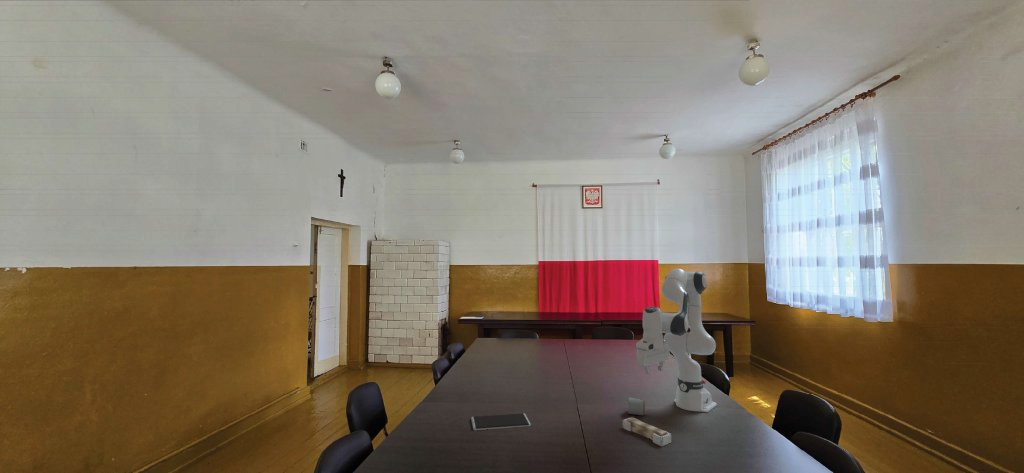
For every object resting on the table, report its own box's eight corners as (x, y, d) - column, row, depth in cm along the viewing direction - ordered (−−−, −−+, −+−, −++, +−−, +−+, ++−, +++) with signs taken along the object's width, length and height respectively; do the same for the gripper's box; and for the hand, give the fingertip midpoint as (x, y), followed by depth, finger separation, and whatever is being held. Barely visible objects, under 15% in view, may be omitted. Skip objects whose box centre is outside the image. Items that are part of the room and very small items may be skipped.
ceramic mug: (645, 417, 189) (645, 401, 190) (628, 415, 191) (627, 400, 192) (644, 410, 199) (644, 395, 200) (628, 408, 201) (627, 393, 202)
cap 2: (652, 442, 164) (652, 433, 164) (662, 438, 167) (662, 430, 167) (661, 446, 160) (661, 437, 160) (671, 442, 163) (671, 434, 164)
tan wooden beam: (626, 429, 177) (626, 419, 177) (631, 427, 179) (631, 417, 179) (662, 444, 162) (661, 433, 162) (666, 442, 164) (666, 431, 164)
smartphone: (531, 427, 179) (531, 423, 179) (473, 431, 174) (473, 427, 174) (524, 416, 192) (524, 412, 192) (471, 419, 187) (471, 416, 187)
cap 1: (639, 428, 177) (639, 420, 178) (629, 431, 174) (629, 423, 174) (631, 424, 181) (631, 417, 181) (622, 427, 178) (622, 420, 178)
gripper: (661, 337, 187) (662, 366, 187) (633, 344, 176) (634, 374, 176) (672, 340, 182) (673, 369, 182) (644, 347, 171) (645, 378, 171)
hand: (654, 372), depth 179 cm, fingers open, 8 cm apart
